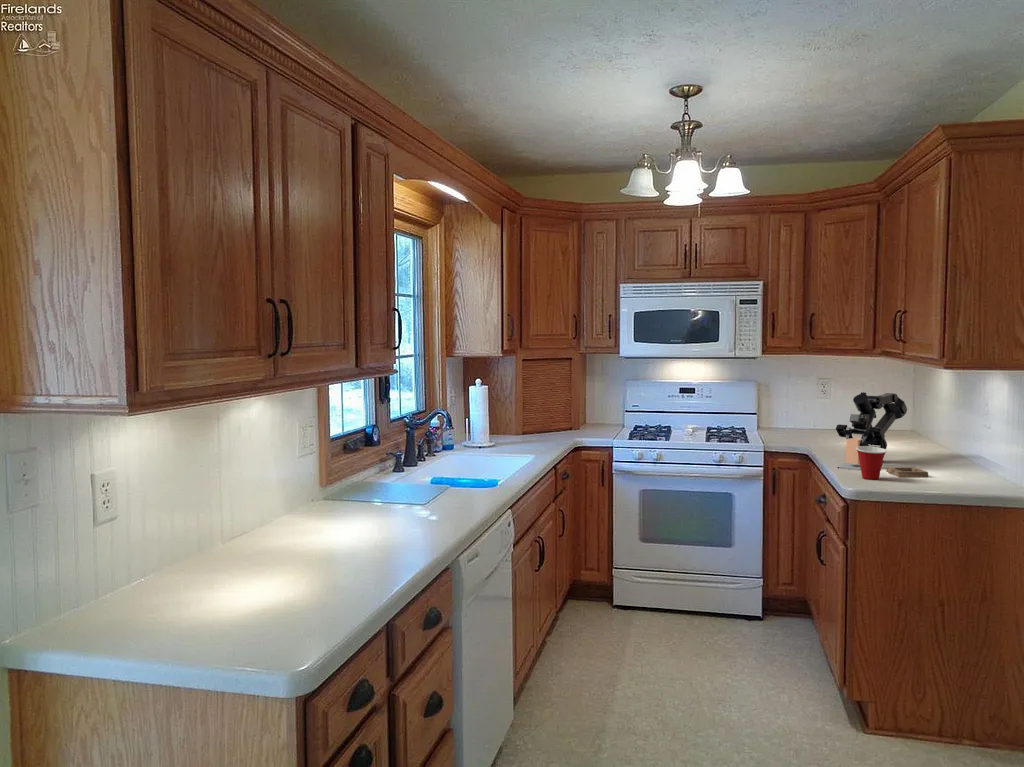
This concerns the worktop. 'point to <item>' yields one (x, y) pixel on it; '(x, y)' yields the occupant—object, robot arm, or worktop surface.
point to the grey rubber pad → (850, 466)
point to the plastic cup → (870, 461)
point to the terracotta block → (852, 450)
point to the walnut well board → (907, 472)
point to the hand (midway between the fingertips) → (853, 447)
